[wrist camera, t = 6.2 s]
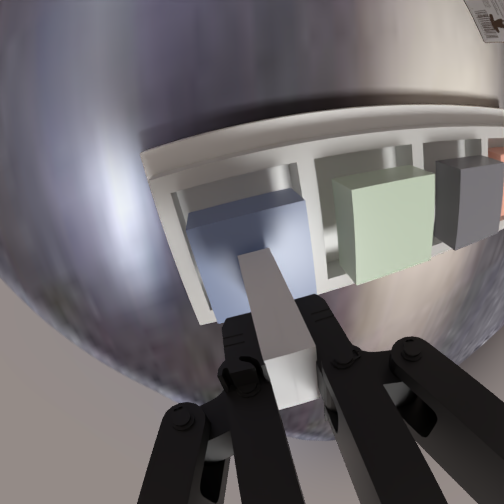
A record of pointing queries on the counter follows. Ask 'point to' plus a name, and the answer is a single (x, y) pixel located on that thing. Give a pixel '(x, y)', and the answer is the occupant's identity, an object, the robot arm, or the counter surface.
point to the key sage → (384, 221)
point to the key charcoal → (468, 199)
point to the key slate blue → (251, 246)
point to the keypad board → (306, 169)
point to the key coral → (500, 155)
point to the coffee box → (488, 18)
